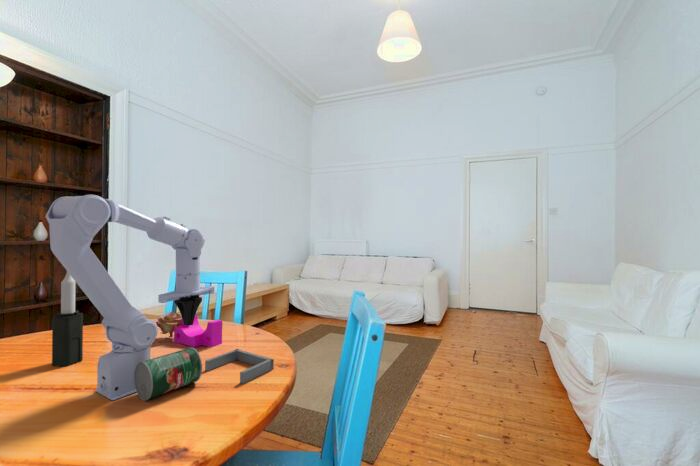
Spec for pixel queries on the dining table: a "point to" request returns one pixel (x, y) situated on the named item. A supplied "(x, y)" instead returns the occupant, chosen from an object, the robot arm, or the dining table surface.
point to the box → (259, 361)
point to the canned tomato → (167, 373)
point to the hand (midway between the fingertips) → (188, 324)
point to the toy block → (199, 334)
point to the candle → (67, 328)
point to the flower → (169, 322)
